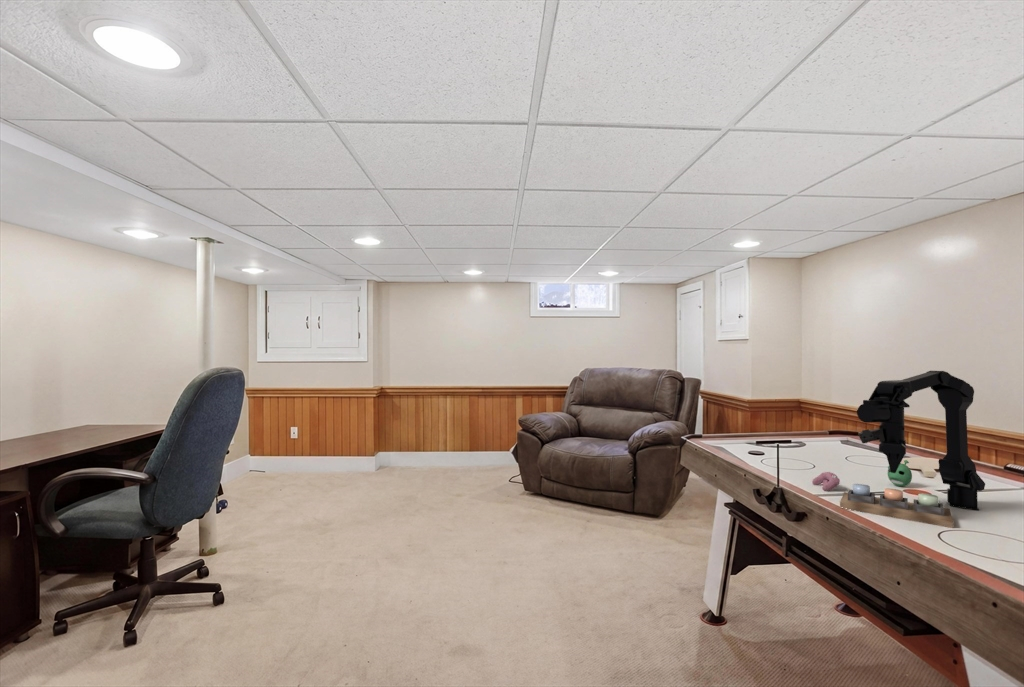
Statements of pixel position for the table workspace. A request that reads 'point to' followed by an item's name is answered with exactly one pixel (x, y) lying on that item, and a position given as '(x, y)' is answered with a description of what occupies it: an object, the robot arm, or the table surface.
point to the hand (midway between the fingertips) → (893, 472)
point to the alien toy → (900, 475)
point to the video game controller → (827, 481)
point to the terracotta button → (893, 494)
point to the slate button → (861, 490)
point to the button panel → (898, 509)
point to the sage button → (928, 499)
